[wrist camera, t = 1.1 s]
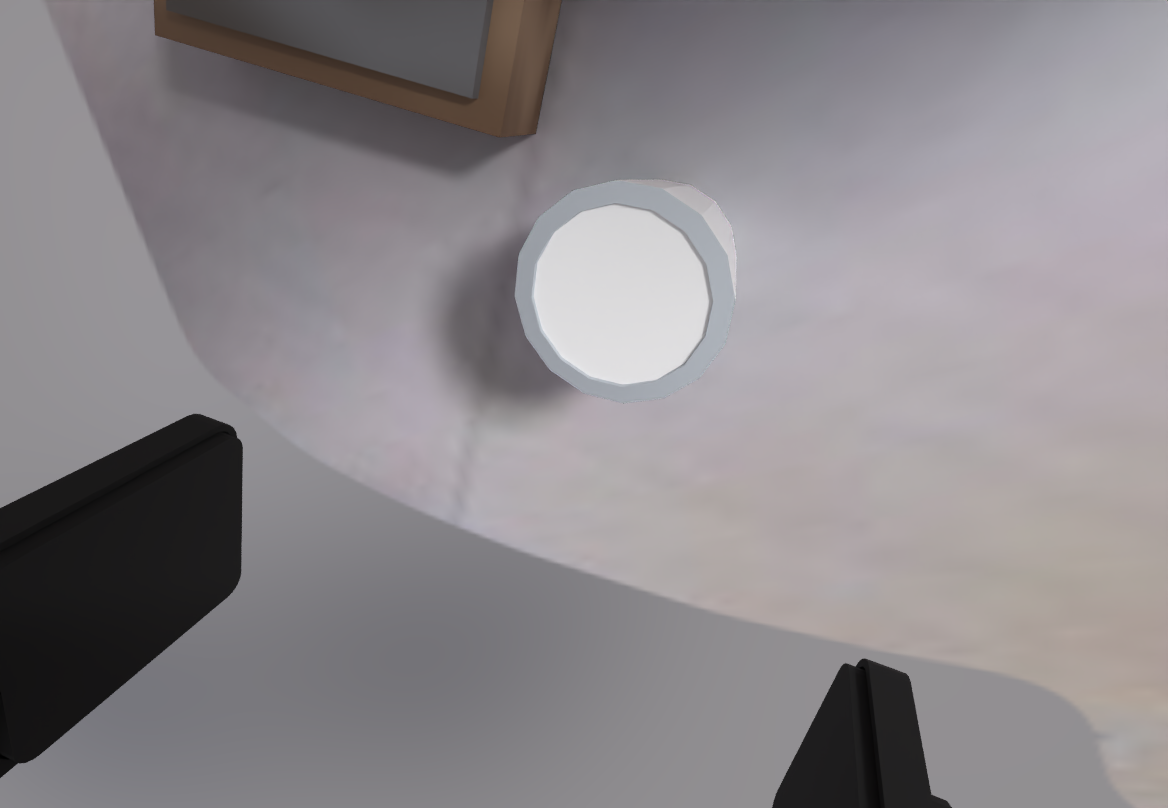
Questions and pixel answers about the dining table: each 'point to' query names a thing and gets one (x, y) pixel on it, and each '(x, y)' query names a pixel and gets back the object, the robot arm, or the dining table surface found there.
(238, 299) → the dining table surface
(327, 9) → the tray
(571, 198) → the shot glass
